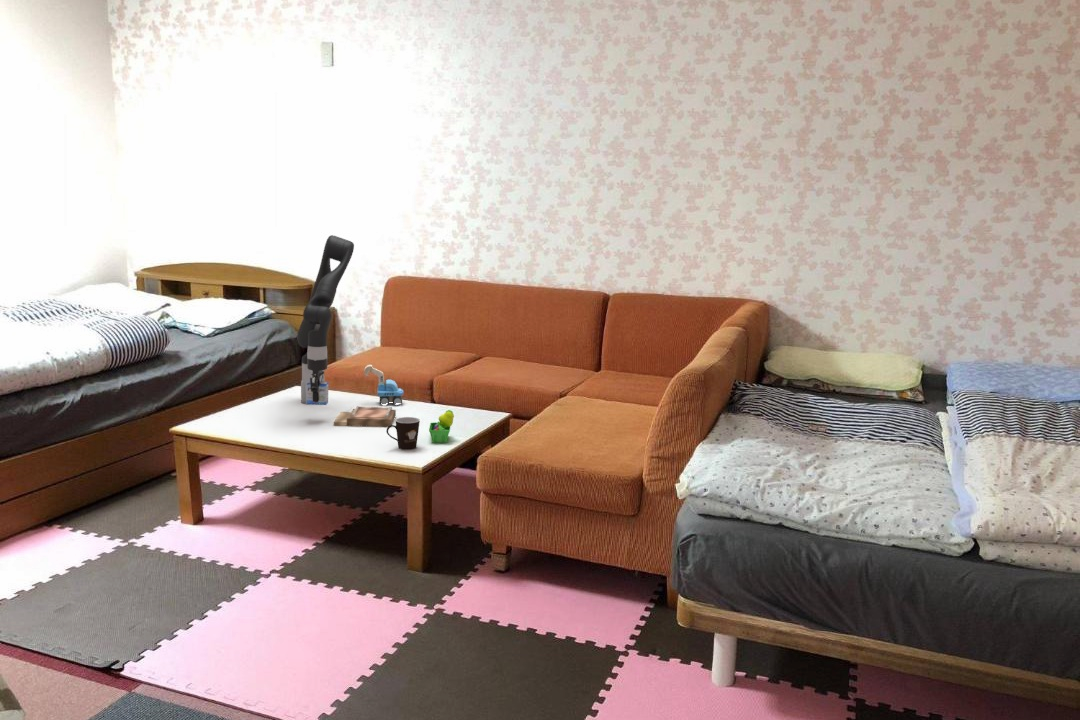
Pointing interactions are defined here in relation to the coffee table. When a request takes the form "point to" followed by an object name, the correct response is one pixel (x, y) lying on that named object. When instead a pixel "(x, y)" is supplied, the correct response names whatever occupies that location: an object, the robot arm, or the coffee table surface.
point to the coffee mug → (406, 432)
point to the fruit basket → (441, 428)
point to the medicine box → (322, 394)
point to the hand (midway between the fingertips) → (317, 399)
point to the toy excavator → (385, 387)
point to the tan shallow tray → (367, 417)
